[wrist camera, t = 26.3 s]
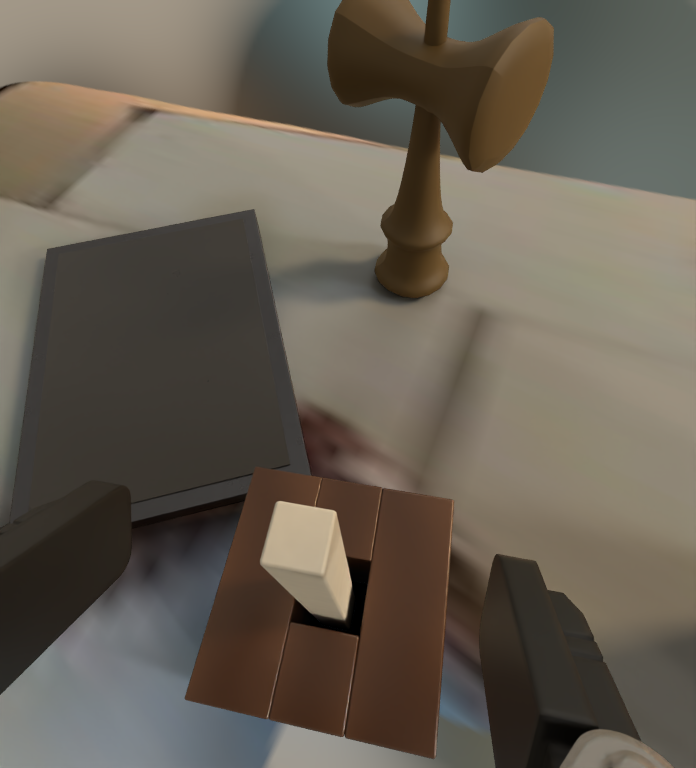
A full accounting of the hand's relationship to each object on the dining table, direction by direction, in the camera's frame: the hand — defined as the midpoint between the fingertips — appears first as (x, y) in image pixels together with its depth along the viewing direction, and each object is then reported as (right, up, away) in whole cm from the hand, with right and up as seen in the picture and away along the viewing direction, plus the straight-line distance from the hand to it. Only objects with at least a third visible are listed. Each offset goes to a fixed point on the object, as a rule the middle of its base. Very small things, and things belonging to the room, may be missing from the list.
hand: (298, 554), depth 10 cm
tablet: (-11, +6, +21) cm, 25 cm away
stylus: (+1, -7, +13) cm, 15 cm away
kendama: (+6, +11, +24) cm, 27 cm away
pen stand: (+1, -7, +13) cm, 15 cm away
